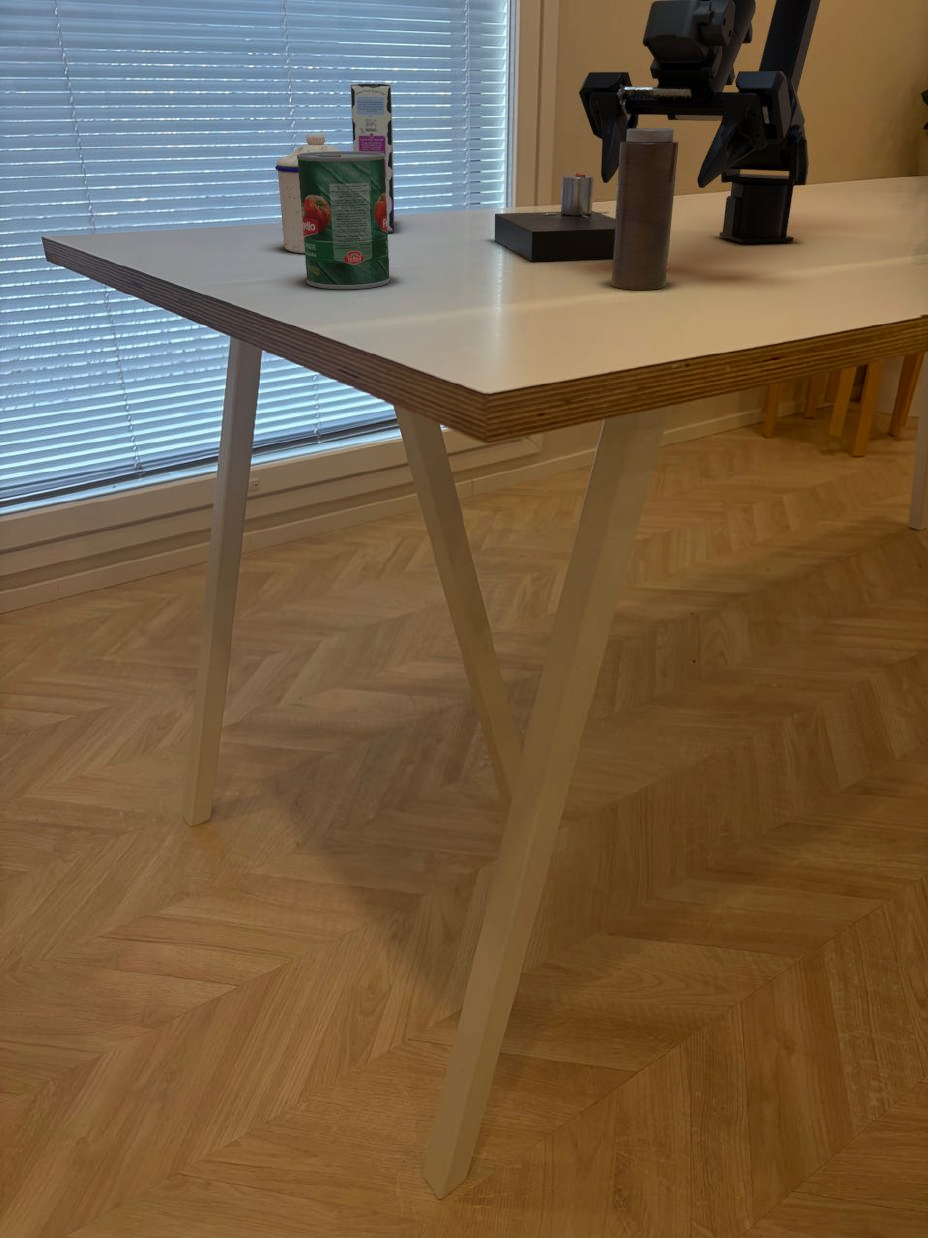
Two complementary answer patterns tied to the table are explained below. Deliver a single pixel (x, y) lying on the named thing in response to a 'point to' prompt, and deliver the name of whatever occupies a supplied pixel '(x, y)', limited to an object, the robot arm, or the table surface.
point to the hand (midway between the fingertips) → (650, 181)
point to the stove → (556, 235)
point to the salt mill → (644, 208)
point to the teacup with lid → (295, 192)
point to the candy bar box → (375, 131)
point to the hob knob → (577, 194)
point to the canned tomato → (344, 219)
